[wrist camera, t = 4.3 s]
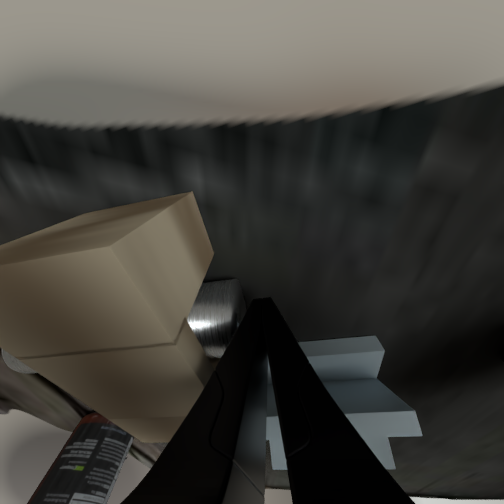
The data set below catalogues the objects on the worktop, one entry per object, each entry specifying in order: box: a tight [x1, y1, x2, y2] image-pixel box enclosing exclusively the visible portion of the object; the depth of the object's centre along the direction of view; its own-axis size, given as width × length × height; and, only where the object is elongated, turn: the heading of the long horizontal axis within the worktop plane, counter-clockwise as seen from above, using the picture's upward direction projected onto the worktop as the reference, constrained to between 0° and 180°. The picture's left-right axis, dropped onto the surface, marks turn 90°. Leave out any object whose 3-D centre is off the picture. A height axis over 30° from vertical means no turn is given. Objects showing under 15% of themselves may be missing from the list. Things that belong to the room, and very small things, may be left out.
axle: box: [1, 279, 247, 373], centre depth 9 cm, size 11×4×4 cm, turn 101°
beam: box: [0, 192, 221, 443], centre depth 8 cm, size 5×10×5 cm, turn 11°
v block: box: [266, 336, 422, 470], centre depth 12 cm, size 8×9×4 cm
